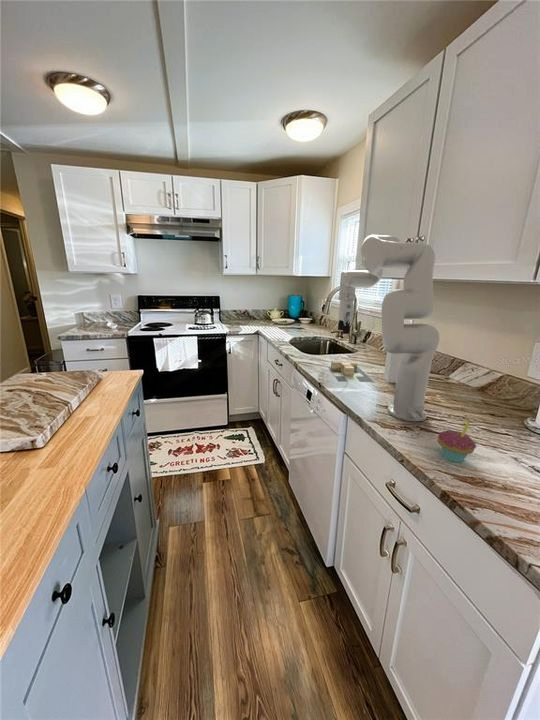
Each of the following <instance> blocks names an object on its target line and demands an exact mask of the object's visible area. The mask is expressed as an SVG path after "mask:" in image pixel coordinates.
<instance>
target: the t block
mask: <svg viewBox="0 0 540 720" xmlns="http://www.w3.org/2000/svg"><path fill="white" fill-rule="evenodd" d="M330 367H331V369H332V371H341V372H342V373H343V374H344V375H345V376H354V371H357V367H358V362H357V361H356V360H331V363H330Z"/></svg>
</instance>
